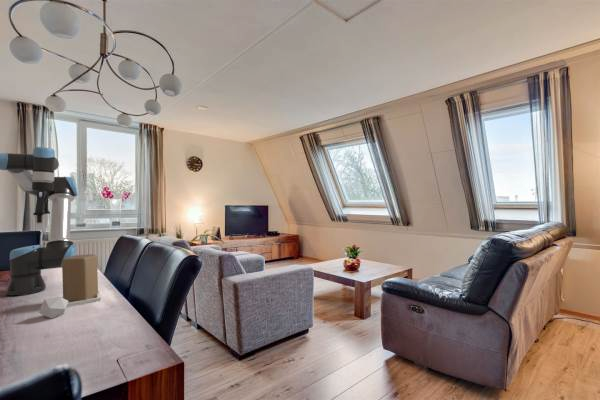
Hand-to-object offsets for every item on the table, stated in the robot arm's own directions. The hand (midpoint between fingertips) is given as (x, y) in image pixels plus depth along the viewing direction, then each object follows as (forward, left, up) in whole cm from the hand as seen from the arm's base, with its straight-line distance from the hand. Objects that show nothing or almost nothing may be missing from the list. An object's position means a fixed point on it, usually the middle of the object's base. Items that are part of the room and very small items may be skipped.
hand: (41, 229), depth 136 cm
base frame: (+7, +14, -33) cm, 37 cm away
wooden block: (+7, +14, -33) cm, 37 cm away
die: (+24, +5, -34) cm, 42 cm away
